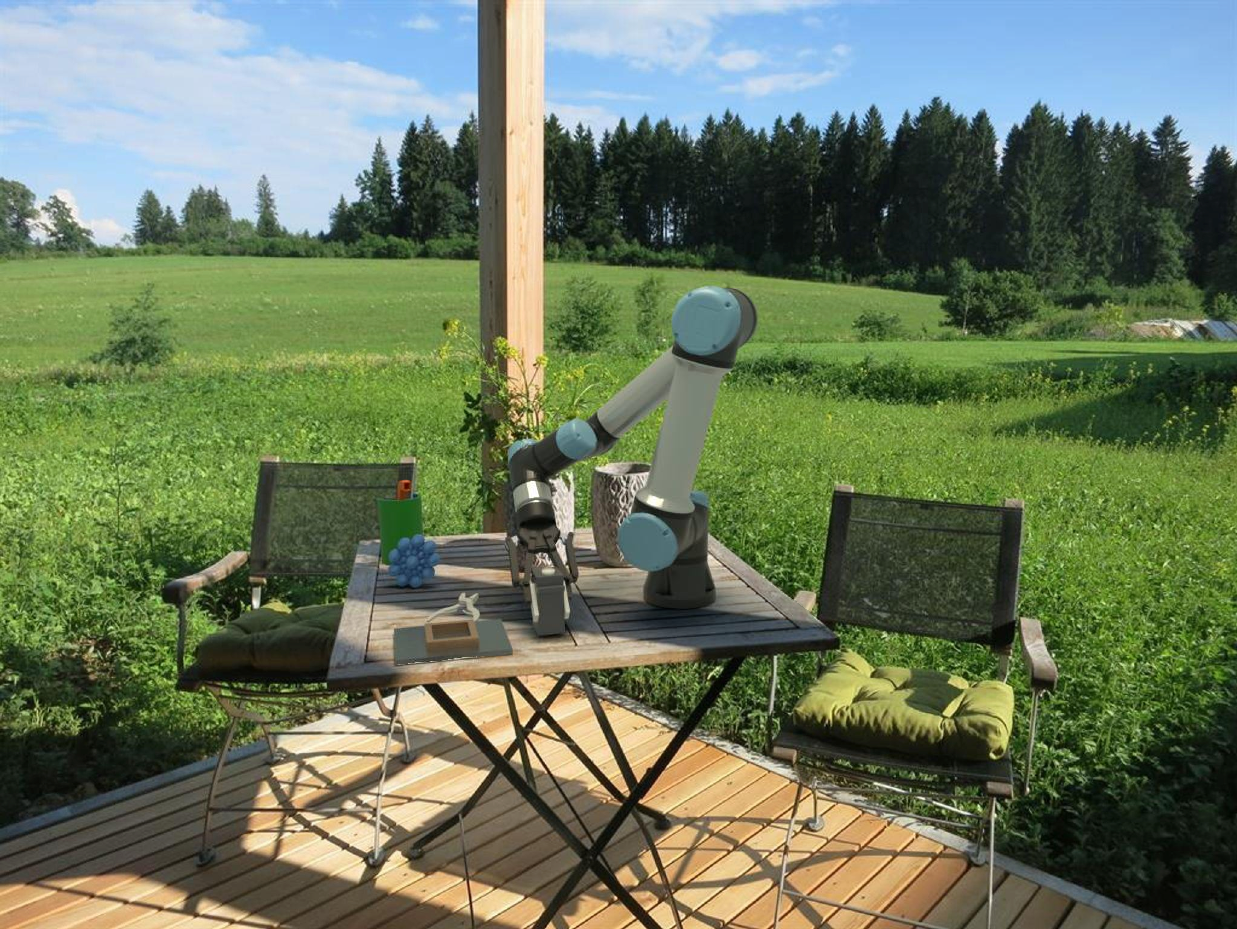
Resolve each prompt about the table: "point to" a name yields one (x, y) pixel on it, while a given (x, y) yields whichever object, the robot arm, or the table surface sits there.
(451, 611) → the pliers
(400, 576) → the grapes
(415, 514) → the green pencil holder
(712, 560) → the table surface
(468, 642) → the plate
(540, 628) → the servo
